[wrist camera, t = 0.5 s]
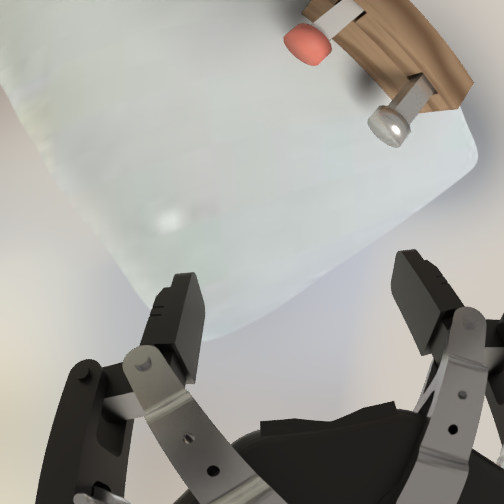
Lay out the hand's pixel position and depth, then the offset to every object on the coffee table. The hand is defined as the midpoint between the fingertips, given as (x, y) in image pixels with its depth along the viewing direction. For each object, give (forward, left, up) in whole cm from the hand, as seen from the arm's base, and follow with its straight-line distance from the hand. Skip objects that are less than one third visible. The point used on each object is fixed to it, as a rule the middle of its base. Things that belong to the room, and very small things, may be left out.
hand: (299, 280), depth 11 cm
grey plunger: (-6, +22, -19) cm, 30 cm away
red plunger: (-16, +16, -19) cm, 30 cm away
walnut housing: (-14, +24, -25) cm, 37 cm away
